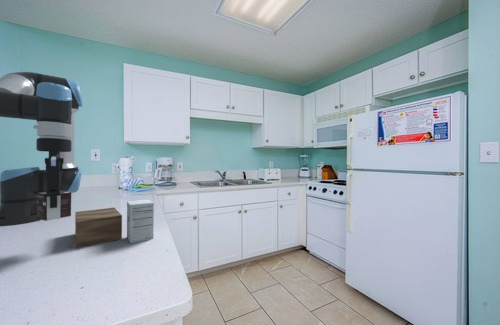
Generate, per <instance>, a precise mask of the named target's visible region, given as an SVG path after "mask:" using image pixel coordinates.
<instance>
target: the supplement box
mask: <svg viewBox="0 0 500 325" xmlns="http://www.w3.org/2000/svg"><path fill="white" fill-rule="evenodd" d="M154 205H155V203H154V202H153V201H152V200H150V199H139V200H129V201H128V200H127V202H126V237H127V238H128V240H129V243H130V244H133V243H139V242H144V241H149V240H153V239H154V234H155V233H154V222H155V220H154V219H155V218H154V216H155V212H154V211H155V208H154Z"/></svg>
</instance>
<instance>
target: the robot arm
mask: <svg viewBox="0 0 500 325" xmlns="http://www.w3.org/2000/svg"><path fill="white" fill-rule="evenodd" d="M79 107H80V108H81V107H83V98H82V93H81V87H80V84H79V82H78V81H76V80H73V79H70V78H64V77H59V76H53V75H48V74H44V73H43V74H42V73H38V72H33V71H18V72H10V73H7V74H4V75H2V76H1V77H0V118H10V119H19V120H20V119H22V120H29V121H30V120H31V121H36V124H37V125H36V124H34V125H33V129H36V136H37V138H36V139H35V140H36V142H35V143H36V145H35V146H36V151H37V152H48V157H45V158H44V164H45V169H41V168H40V167H39V166H33V167H22V168H12V169H5V170H3V171H1V173H0V226H12V225H13V226H14V225H21V224H26V223H32V222H36V221H39V220H41V219H39V218H37V193H40V192H46V194H44V197H47V220H48V221H51V220H60V219H61V218H60V190H62V191H68V192H71V194H72V193H74V194H75V193H76V192H78V191H79V189H80V185H81V180H82V171H83V170H82V169H81V168H79V166H78V164H77V163H75V114H76V113H77V112H78V111H80V109H79Z"/></svg>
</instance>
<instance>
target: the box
mask: <svg viewBox="0 0 500 325" xmlns="http://www.w3.org/2000/svg"><path fill="white" fill-rule="evenodd" d="M44 194H46V192H40V193H37V218H39V219H40V220H42V221H45V222H46V221H49V220H47V197H44ZM71 216H72V193H71V192H68V191H62V190H60V219H63V218H67V217H68V218H69V217H71Z"/></svg>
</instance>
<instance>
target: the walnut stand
mask: <svg viewBox="0 0 500 325" xmlns="http://www.w3.org/2000/svg"><path fill="white" fill-rule="evenodd" d="M74 217H75V221H74V222H75V223H74V224H75V226H74V228H75V229H74V231H75V232H74V234H75V245H76V246H75V247H76V248H78V249H79V248H83V247H88V246H92V245H97V244H103V243H108V242H112V241H118V240H122V239H123V234H122V233H123V215H122V213H120V212H119V211H118V210H117V209H116V207H107V208H98V209H91V210H90V209H89V210H81V211H75V216H74Z"/></svg>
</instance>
